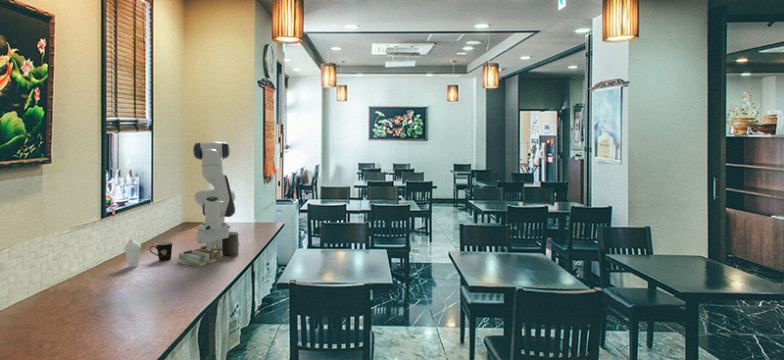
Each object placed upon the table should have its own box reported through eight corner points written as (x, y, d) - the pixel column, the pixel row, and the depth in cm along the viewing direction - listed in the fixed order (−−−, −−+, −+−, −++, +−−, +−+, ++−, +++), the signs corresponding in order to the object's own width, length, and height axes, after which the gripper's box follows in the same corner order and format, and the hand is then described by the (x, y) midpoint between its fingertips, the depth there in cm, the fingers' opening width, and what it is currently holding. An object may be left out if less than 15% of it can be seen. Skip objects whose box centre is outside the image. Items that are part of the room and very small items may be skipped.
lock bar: (199, 250, 277) (199, 241, 277) (204, 248, 281) (204, 240, 280) (212, 252, 271) (212, 244, 271) (218, 251, 274) (217, 243, 274)
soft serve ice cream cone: (145, 265, 265) (144, 237, 263) (132, 269, 257) (131, 240, 256) (134, 263, 268) (132, 236, 266) (121, 267, 260) (120, 239, 258)
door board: (204, 256, 286) (204, 245, 285) (221, 260, 277) (221, 249, 277) (179, 262, 271) (178, 251, 271) (196, 266, 263) (196, 255, 262)
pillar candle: (223, 257, 284) (223, 233, 282) (221, 253, 292) (220, 230, 291) (239, 255, 288) (239, 232, 287) (237, 252, 297) (237, 229, 295)
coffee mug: (175, 258, 281) (175, 241, 280) (167, 261, 272) (167, 245, 271) (157, 257, 282) (157, 241, 281) (149, 261, 274) (148, 244, 273)
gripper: (224, 221, 282) (224, 243, 284) (194, 227, 265) (195, 250, 266) (231, 222, 279) (231, 245, 280) (201, 228, 262) (202, 252, 263)
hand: (213, 248), depth 273 cm, fingers open, 3 cm apart
